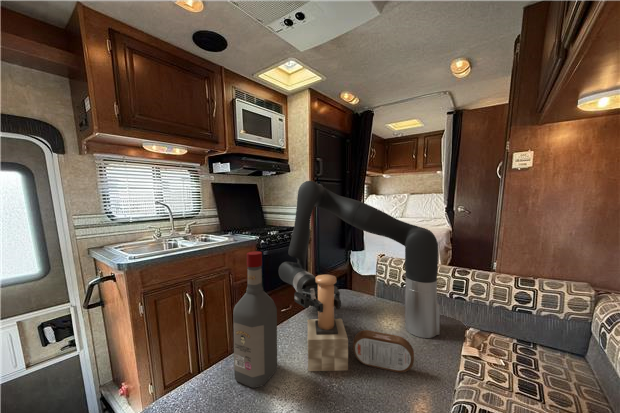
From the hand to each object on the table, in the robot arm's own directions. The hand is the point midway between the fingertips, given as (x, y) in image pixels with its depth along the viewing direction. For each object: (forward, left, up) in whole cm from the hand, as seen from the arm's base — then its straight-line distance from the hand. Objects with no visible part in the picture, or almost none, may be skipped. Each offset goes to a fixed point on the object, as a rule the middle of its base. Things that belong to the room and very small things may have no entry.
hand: (330, 307), depth 61 cm
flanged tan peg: (+1, -3, -14) cm, 14 cm away
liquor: (+19, +2, -15) cm, 24 cm away
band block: (+1, -3, -15) cm, 15 cm away
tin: (-13, +1, -15) cm, 20 cm away
